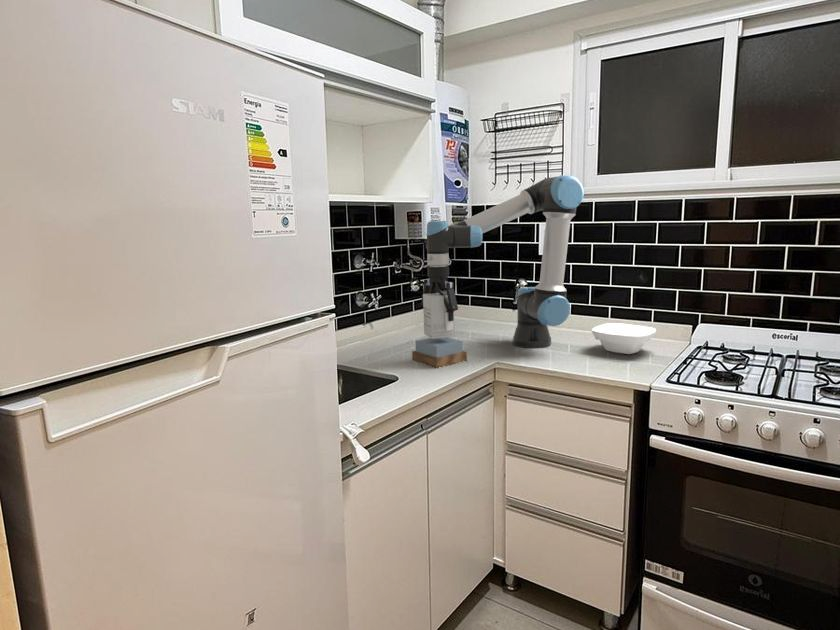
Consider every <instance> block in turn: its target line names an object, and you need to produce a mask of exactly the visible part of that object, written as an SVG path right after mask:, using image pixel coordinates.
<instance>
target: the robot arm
mask: <svg viewBox="0 0 840 630" xmlns="http://www.w3.org/2000/svg"><path fill="white" fill-rule="evenodd" d="M584 194H585V192H584V187H583V184H582V183H581V182H580V180H579V178H577V177H575V176H573V175H563V174H562V175H558V176H553V177H547V178H544V179H542V180H539V181H538V182H536V183H535V184H533V185H530V186H528V187H527V188H525V189H523V190H521V191H520V194H517V196H514V197H511V198H510V199H507V200H505V201H503V202H500V203H498V204H497V205H494V206H492V207H490V208H488V209H485V210H483V211H481V212H479V213H477V214H474V215H473V216H471V217H468V218H465V219H464V220H462V221H459V222H457V223H455V224H450V225H449V222H448V221H447V220H431V221H430V220H429V221H428V222H427V223H426V235H425V236H426V254H427V255H426V256H427V257H426V259H427V260H426V261H427V263H426V264H427V277H428V278H429V279H428V278H427V279H424V280H423V289H422V294H421V295H422V296H421V302H420V305H421V306H423V294H433V293H439V294H440V295H442V296H444V304H445V307H446V309H447V311H446V312H445V317H446V331H449V330H453V320H454V311H455V312H456V311H458V310H459V307H458V301H457V297H456V293H455V289H454V288H455V285H454V284H455V283H454V282H453V281H448V277H449V276H450V267H449V264H450V257H449V253H450V252H449V248H450V249H455V248H456V249H457V248H458V249H459V248H462V249H463V248H465V249H466V248H470V249H472V248H477V247H480V246H481V245H482V243H483V234H485V233H487V232H489V231H491V230H494V229H496V228H498V227H501V226H502V225H505V224H506V223H509V222H511V221H513V220H515V219H517V218H520V217H522V216H524V215H526V214H529V215H532V214H534V213H537V212H541V211H542V215H543V216H545V218H546V219H545V229H544V238H543V247H542V248H543V249H542V254H541V255H542V256H541V265H540V275H539V276H540V277H539V282H538V284H537V285H535V286H528V287H520V288H518V290H517V296H516V297H517V324H516V327H515V331H514V334H513V337H512V344H513V345H514V346H516V347H522V348H529V349H530V348H531V349H536V348H537V349H539V348H545V347H549V346H551V345H552V337H551V334H550V330H549V327H557V326H560V325H562V324H563V323H564V322H565V321H566V320H567V319H568V318H569V316H570V313H571V304H570V302H569V300H568V299H567V288H565V286H564V280H565V273H566V264H567V263H566V262H567V254H568V247H569V246H568V245H569V237H570V229H571V220H572V219H573V218H574V217H575V216H576V215H577V214H576V213H577V207H579V205H580V204H581V203H582V202H583V199H584V197H585V196H584ZM445 296H448V298H447V297H445ZM449 307H450V308H449Z"/></svg>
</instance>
